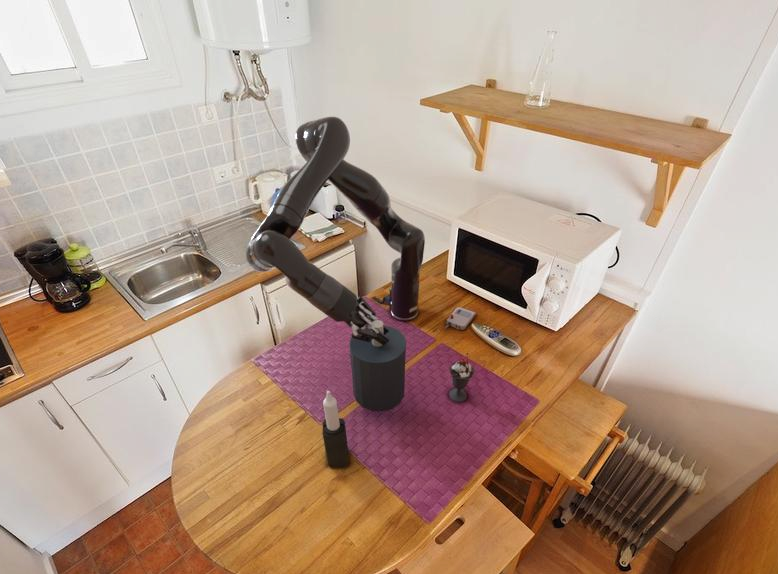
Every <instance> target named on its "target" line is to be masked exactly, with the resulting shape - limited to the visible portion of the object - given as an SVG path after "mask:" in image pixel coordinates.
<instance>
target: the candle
mask: <svg viewBox="0 0 778 574" xmlns="http://www.w3.org/2000/svg"><path fill="white" fill-rule="evenodd" d="M322 404H323V411H324V416H325V417H324V418H325V419H324V420H323V422H322V432H321V433H322V439H323V444H324V449H325V455H326V463H327V466H328V467H329V468H330V469H338V468H346V467H348V466H349V463H350V462H349V461H350V460H349V447H348V445H349V444H348V438H347V430H346V429H347V428H346V422H345V419H344V418H342V417H339V410H338V401H337V398H336V397H334V396H333V395H332V394H331V390H326V396H325V398H324V400H323V401H322Z"/></svg>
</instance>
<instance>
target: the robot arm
mask: <svg viewBox="0 0 778 574" xmlns="http://www.w3.org/2000/svg"><path fill="white" fill-rule="evenodd" d="M294 140H295V144H296V148H297V150H298V153H299V154H300V155H301V157H302V158H303V159H304V161H305V163H304V164H303V166H302V167H300V168H299V170H298V171H296V172H295V173H294V174H293V176H291V177H290V178H289V179H288V180H287V181H286V182H285V183H284V185H282V188H281V189H280V190H279V192H278V193H277V195H276V197H275V199H274V201H273V202H272V203H271V206H270V208H269V209H268V213H267V215H266V217H265V218H264V220H263V221H262V223H261V224H260V225H259V227H258V228H257V229H256V231H255V232H254V233H253V236H252V237H251V238H250V240H249V242H248V244H247V246H246V250H245V258H246V262H247V264H248V265H249V267H251V269H253V270H254V271H256V272H260V273H268V272H271V271H273V270H275V269H277V270H278V271H280V273H281V274H282V275H284V277H285V283H286V286H288V287H289V288H290V289H291V290H292V291H294V292H295V293H297V294H298V295H299V296H300V297H302V298H304V299H305V300H307V302H309V304H311V305H312V306H313V307H315V308H316V309H318V311H320V312H322V313H323V314H324V315H326V316H327V317H329V318H330V319H331V320H333V321H335V322H337V323H338V322H339V323H341V322H344V323H345V324H346V325H347V327H349V328H351V329H352V333H351V335H350V337H353V338H354V339H358V340H361V341H365V342H368V343H369V342H370V341H371V340H373V339H375V340H376V341H377V342H379V343H380V344H382V345H385V344H386V343H387V342H389V338H388V337H387V336H386V335H385V334H386V333H388V332H389V329H388V328H387V327H386V326H387V325H385V324H383V333H381V332H380V331H378V330H377V329H376V328H375V327H374V326H372V322H373V321H375V320H379V318H378V317H376V316H377V312H376V311H375V310H374V309H373V308H372V307H371V305H370V304H369V303H368V302H367V301H366V300H365V299H364V297H363V296H361V295H359V296H357V294H356V293H354V292H353V291H352V290H351V289H349V288H347V286H345V285H344V284H342V283H341V282H340V281H339V280H337V279H336V278H335V277H332V276H331V275H329V274H328V273H326V272H325V271H323V270H322V269H321V268H320V267H318V266H317V265H315V264H314V263H313V262H311V261H310V260H309V259H308V258H307V257H306V255H305V254H304V253H303V251H302V250H301V249H300V248H299V247H298V246H297V244H296V243H295V242H294V241H293V240H292V238H293V237H294V236H295V235H296V234H297V233H298V231H299V230H300V228H301V226H302V224H303V222H304V221H305V218H306V216H307V215H308V213H309V210H310V208H311V206H312V205H313V203H314V201H315V199H316V198H317V196H318V195H319V193H320V191H321V190H322V188H323V187H324V186H325V184H326V183H327V181H329V183H331V184H332V186H334V187H335V188H336V189H337V190H338V191H339V192H340V194H342V195H343V196H344V197H345V199H347V200H348V202H349V203H350V204H351V205H352V207H354V209H355V210H356V211H357V212H359V214H360V215H361V216H362V217H364V218H365V219H366V220H367V221H368V222H369V223H370V224H371V225H372V226H374V228H375V229H377V231H378V233H379V234H380V235H381V236H382V238H383V239H384V241H385V242H386V244H387V245H388V246H389V247H390V248H391V249H393V250H394V251H396V252H397V253H399V254H400V257H398V258H395V259H394V260H392V262H391V287H390V288H389V293H388V294H385V295H384V296H383V297H382V299H379V298H378V297H376V296H373V297H372V299H373V300H374V301H376V302H377V303H379V304H386V305H387V306H389V311H390V314H391V316H392V317H393V319H395V320H398V321H402V322H408V321H412V320H414V319H415V318H417V317H418V314H419V297H420V296H419V295H420V294H419V293H420V275H421V274H420V273H421V272H420V271H421V268H422V265H423V261H424V253H425V244H426V237H425V233H424V231H423V230H422V229H421V228H419V227H417V226H416V225H414V224H412V223H410V222H408V221H406V220H404V219H403V218H402V217H400V216H399V215H398V214H397V213H396V212H395V211H394V210H393V208H392V203H391V198H390V195H389V193H388V192H387V190H386V189H385V188H384V186H383V185H382V184H381V182H380V181H379V180H378V179H377V177H375V176H374V175H373V174H371V173H369V172H368V171H366V170H364V169H362V168H360V167H359V166H356V165H354V164H352V163H350V162H349V161H346V160H345V158H346V156H347V154H348V152H349V149H350V144H351V135H350V131H349V129H348V126H347V125H346V123H345V122H344V120H343V119H341V118H339V117H337V116H325V117H321V118H317V119H313V120H310V121H306V122H304V123H303V124H301V125H299V126H298V128H297V129H296V131H295V139H294ZM384 325H385V326H384ZM368 329H371V330H372V332H371V331H368Z"/></svg>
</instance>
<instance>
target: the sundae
mask: <svg viewBox="0 0 778 574" xmlns="http://www.w3.org/2000/svg"><path fill="white" fill-rule="evenodd" d="M469 354H470V353H469V352H466V355H465V357H464V358H461V359H460V360H458V361H456V362H454V363H452V364H451V365H450V366H449V373H450V375H451V381H452V385H453V387H454V388H453V389H451V390H450V391H449V393H448V394H449V398H450V399H451V400H452V401H454V402H456V403H460V402H461V403H462V402H464V401H466V399H467V397H468V395H467V392H466V391H465V390H464V389H465V388H467V386H468V384H469V381H470V380H471V379H472V378H473V376H475V368H474V367H473V366H472V365H471V363H470V360H469V359H468V356H469Z"/></svg>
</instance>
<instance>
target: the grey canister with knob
mask: <svg viewBox="0 0 778 574" xmlns="http://www.w3.org/2000/svg"><path fill="white" fill-rule="evenodd" d="M383 325H384V326H386V327H387V328H388V329H389V332H388V333H386V334H385V335H386V336H387V337H388V338H389V342H387V343H386V344H385V345H382V344H380V343H379V342H377V341H376V340H375V339H373V340H371V341H370V342H369V343H368V342H365V341H361V340H358V339H354V338H353V337H352V336H350V337H351V338H350V340H349V345H348V346H349V355H350V356H349V357H350V369H351V377H352V378H351V380H352V392H353V397H354V399H355V401H356V403H357V404H358V405H359V406H361V407H362V409H365V410H368V411H371V412H378V413H379V412H380V413H381V412H388V411H391V410H393V409H394V408H396V407H397V406H399V405H400V404H401V403H402V401H403V399H404V398H405V384H406V357H407V355H406V352H407V341H406V340H407V339H406V337H405V335H404V334H403V333H402V332H401V331H400V330H398V329H397V328H395V327H393V326H389V325H385V324H384V322H383V320H379V319H378V320H375V321H373V322H372V326H374V327H375V328H376V329H377V330H378V331H380V332H381V333H383ZM368 331H371V332H372V330H371V329H368Z"/></svg>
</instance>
